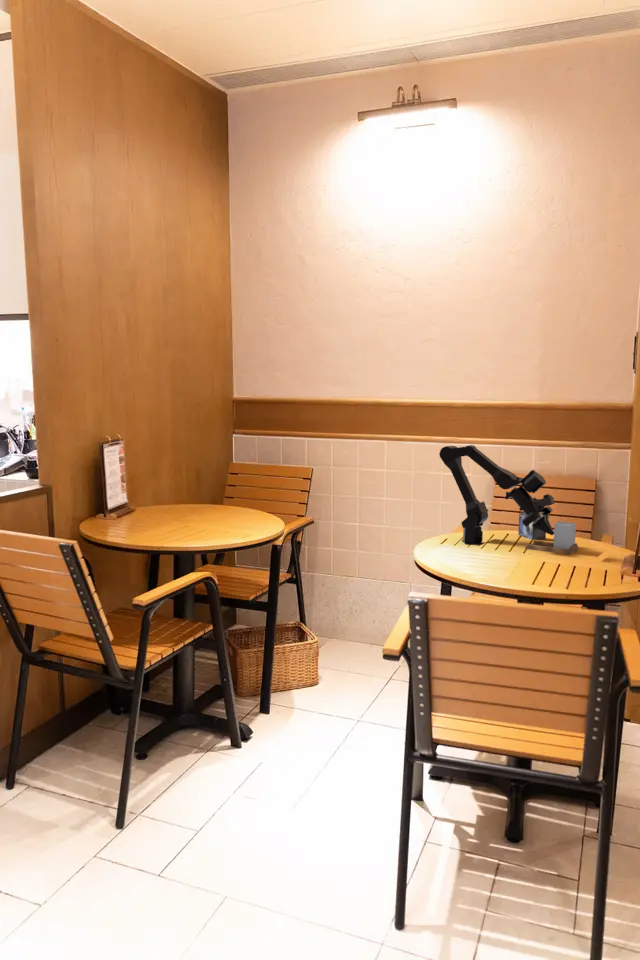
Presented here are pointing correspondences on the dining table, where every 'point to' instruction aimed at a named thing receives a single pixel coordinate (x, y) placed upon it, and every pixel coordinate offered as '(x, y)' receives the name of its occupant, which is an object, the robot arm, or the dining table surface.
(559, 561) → the dining table surface
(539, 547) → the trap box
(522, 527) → the small box
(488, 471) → the robot arm
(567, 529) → the block
